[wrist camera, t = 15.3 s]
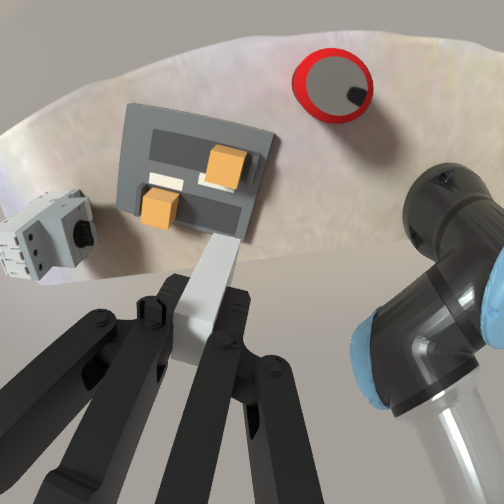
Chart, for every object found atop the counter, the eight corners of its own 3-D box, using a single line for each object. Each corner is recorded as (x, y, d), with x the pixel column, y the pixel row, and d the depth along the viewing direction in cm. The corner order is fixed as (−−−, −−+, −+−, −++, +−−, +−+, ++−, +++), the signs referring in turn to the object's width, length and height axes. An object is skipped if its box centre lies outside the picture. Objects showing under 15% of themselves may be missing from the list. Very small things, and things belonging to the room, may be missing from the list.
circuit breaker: (118, 231, 48) (70, 285, 36) (55, 229, 50) (5, 275, 37) (110, 187, 45) (54, 232, 32) (45, 191, 46) (-11, 231, 33)
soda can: (337, 122, 37) (358, 139, 27) (282, 99, 36) (282, 106, 26) (359, 72, 33) (389, 69, 23) (304, 47, 32) (313, 33, 22)
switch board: (274, 132, 39) (273, 137, 36) (244, 237, 47) (241, 249, 44) (132, 102, 38) (120, 105, 35) (120, 204, 46) (110, 214, 43)
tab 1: (179, 193, 42) (171, 203, 39) (175, 219, 44) (167, 230, 41) (152, 187, 42) (143, 196, 39) (149, 212, 44) (140, 222, 41)
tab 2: (247, 151, 39) (244, 158, 36) (239, 180, 41) (236, 189, 38) (216, 144, 38) (211, 150, 35) (210, 172, 40) (204, 181, 37)
